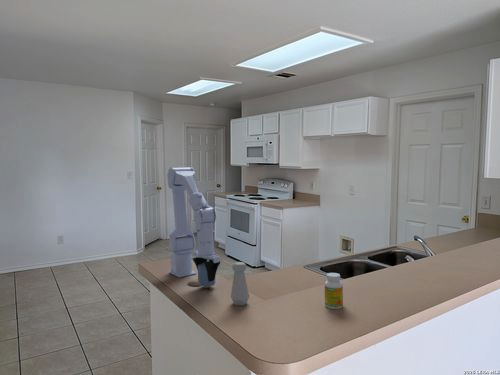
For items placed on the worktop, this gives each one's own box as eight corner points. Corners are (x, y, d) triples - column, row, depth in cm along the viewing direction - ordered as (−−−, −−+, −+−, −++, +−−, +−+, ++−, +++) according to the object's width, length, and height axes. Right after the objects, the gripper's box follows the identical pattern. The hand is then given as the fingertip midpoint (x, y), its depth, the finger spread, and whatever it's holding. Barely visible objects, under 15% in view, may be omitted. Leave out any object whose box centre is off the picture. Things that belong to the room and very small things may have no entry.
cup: (195, 283, 128) (195, 264, 127) (209, 280, 131) (209, 261, 131) (204, 287, 123) (203, 267, 123) (218, 284, 127) (217, 264, 126)
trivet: (184, 283, 133) (184, 282, 133) (200, 279, 138) (200, 278, 138) (193, 287, 128) (193, 286, 128) (210, 283, 132) (210, 282, 132)
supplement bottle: (325, 309, 105) (325, 277, 105) (324, 302, 110) (323, 271, 110) (344, 309, 104) (343, 277, 104) (341, 302, 110) (341, 272, 109)
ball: (201, 287, 127) (200, 279, 127) (208, 285, 129) (208, 277, 129) (205, 290, 125) (205, 281, 125) (213, 288, 127) (213, 279, 127)
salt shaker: (247, 307, 108) (246, 265, 107) (229, 306, 109) (227, 265, 109) (251, 300, 114) (249, 260, 113) (233, 299, 115) (232, 260, 114)
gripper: (186, 240, 130) (187, 276, 130) (206, 246, 118) (207, 286, 119) (202, 237, 134) (203, 272, 135) (224, 243, 123) (225, 281, 123)
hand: (206, 278), depth 127 cm, fingers closed on cup, 6 cm apart
